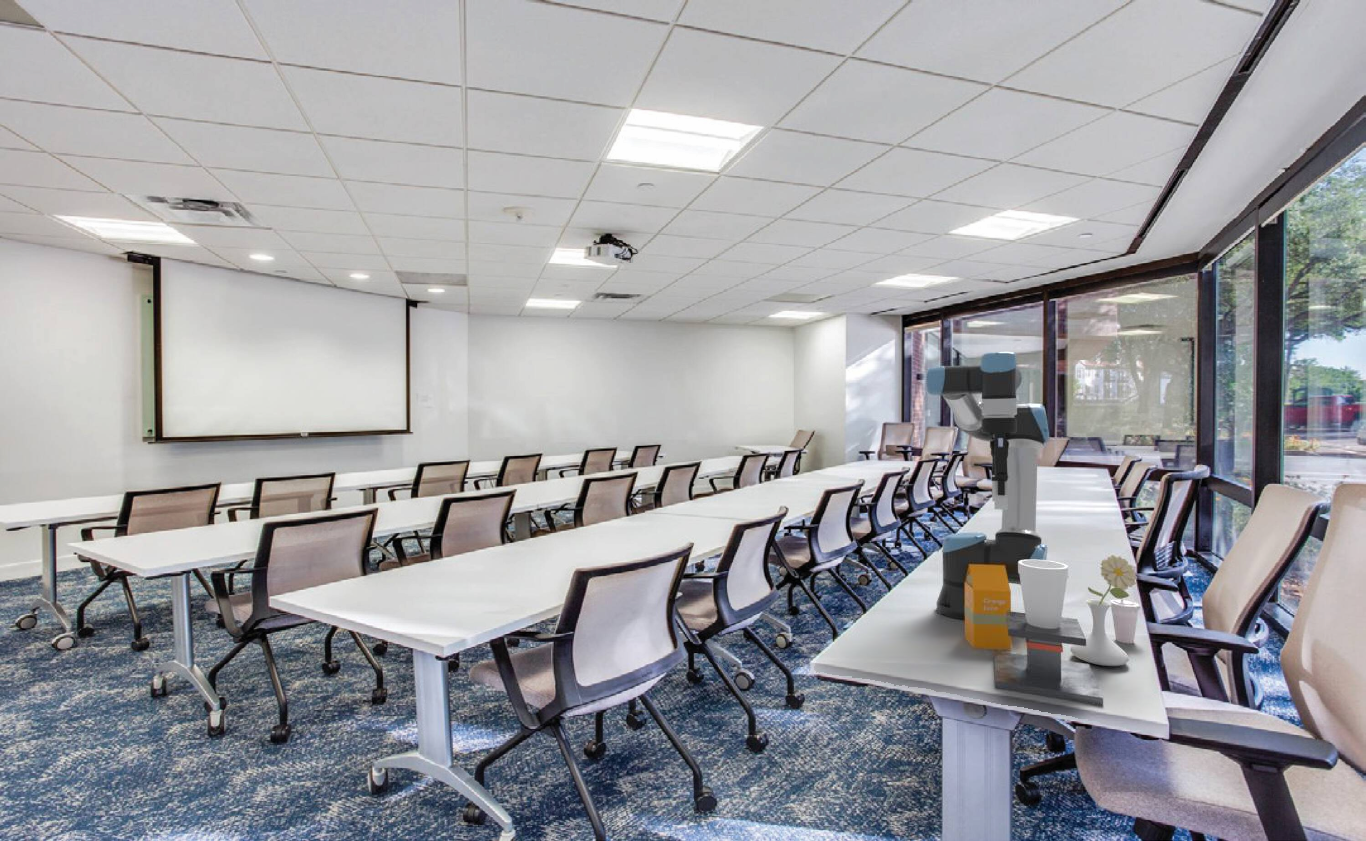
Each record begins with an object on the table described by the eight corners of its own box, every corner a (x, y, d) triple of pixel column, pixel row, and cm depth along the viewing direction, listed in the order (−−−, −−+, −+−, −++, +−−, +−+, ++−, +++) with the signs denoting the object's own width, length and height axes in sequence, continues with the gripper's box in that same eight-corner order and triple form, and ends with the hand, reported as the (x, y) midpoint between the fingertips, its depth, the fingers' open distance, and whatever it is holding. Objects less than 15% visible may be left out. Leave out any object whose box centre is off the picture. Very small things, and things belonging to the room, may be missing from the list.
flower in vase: (1076, 666, 141) (1076, 557, 141) (1065, 649, 152) (1064, 548, 152) (1145, 674, 137) (1144, 561, 137) (1128, 656, 147) (1127, 551, 147)
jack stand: (994, 656, 147) (994, 606, 147) (1089, 670, 139) (1088, 617, 139) (995, 687, 130) (995, 630, 130) (1103, 705, 122) (1102, 644, 122)
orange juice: (1011, 649, 152) (1011, 568, 152) (973, 647, 153) (973, 567, 153) (1000, 638, 160) (1000, 561, 160) (964, 637, 161) (963, 560, 161)
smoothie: (1112, 634, 162) (1112, 581, 162) (1142, 640, 158) (1142, 585, 158) (1107, 640, 158) (1106, 585, 158) (1137, 647, 153) (1137, 590, 153)
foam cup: (1051, 616, 139) (1050, 559, 139) (1078, 630, 130) (1078, 568, 130) (1009, 617, 139) (1009, 559, 139) (1034, 631, 130) (1033, 569, 130)
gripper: (980, 416, 161) (981, 497, 161) (982, 417, 139) (983, 512, 139) (1013, 416, 158) (1013, 498, 158) (1020, 417, 135) (1021, 513, 136)
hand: (999, 505), depth 149 cm, fingers open, 13 cm apart
